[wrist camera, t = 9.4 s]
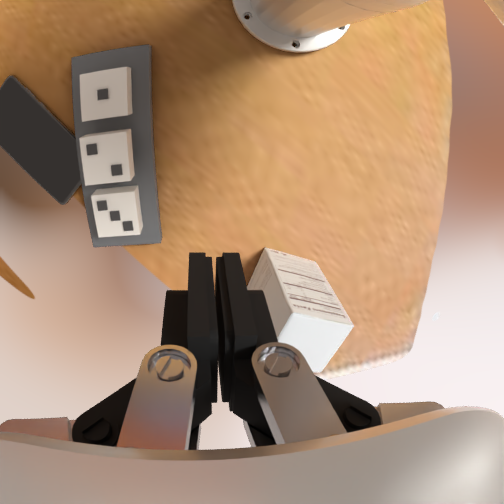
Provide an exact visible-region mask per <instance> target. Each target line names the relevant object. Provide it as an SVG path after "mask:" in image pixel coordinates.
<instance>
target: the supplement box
mask: <svg viewBox="0 0 504 504" xmlns="http://www.w3.org/2000/svg"><path fill="white" fill-rule="evenodd" d="M247 290H263V292H264V295H265V298H266V302H267V305H268V308H269V312H270V315H271V319H272V322H273V325H274V329H275V332H276V336H277V339H278V342H280V343H286V344H289V345H291V346H294V347H295V348H296V349H298V350H299V351H300V352H301V353H302V355H303V356H304V357H305V359H306V361H307V363H308V364H309V366H310V368H311V370H312V372H321V371H322V370H323V369H324V367H325V366H326V365H327V363H328V362H329V360H330V359H331V358H332V356H333V355H334V354H335V352H336V351H337V350H338V348H339V347H340V345H341V344H342V342H343V341H344V340H345V338H346V337H347V335H348V334H349V333H350V331H351V330H352V328H353V327H354V325H353V323H352V321H351V320H350V318H349V316H348V315H347V313H346V311H345V310H344V308H343V306H342V304H341V303H340V301H339V299H338V298H337V296H336V294H335V293H334V291H333V289H332V288H331V286H330V284H329V283H328V281H327V279H326V278H325V276H324V274H323V273H322V271H321V269H320V268H319V266H318V264H317V263H316V262H315V261H312V260H309V259H305V258H302V257H298V256H295V255H291V254H288V253H284V252H281V251H277V250H273V249H270V248H264V250H263V252H262V254H261V257H260V259H259V261H258V263H257V266H256V268H255V270H254V272H253V275H252V277H251V279H250V281H249V284H248V286H247Z"/></svg>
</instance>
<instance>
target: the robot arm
mask: <svg viewBox="0 0 504 504" xmlns="http://www.w3.org/2000/svg"><path fill="white" fill-rule="evenodd" d="M426 1H428V0H232V3H233V8H234V11H235V13H236V15H237V18H238V19H239V21H240V22H241V24H242V25H243V26H244V28H245V29H246V30H247V31H248V32H249V33H250V34H251V35H252V36H254V37H255V38H257V39H258V40H259V41H261V42H262V43H264V44H266V45H269V46H271V47H273V48H276V49H279V50H283V51H288V52H295V53H299V52H311V51H316V50H320V49H323V48H326V47H328V46H330V45H332V44H334V43H335V42H336V41H338V40H339V39H340V38H341V37H342V36H343V35H344V34H345V33H346V32H347V30H348V28H349V26H350V24H352V23H356V22H359V21H362V20H366V19H369V18H373V17H376V16H380V15H384V14H388V13H392V12H396V11H399V10H403V9H408V8H411V7H415V6H418V5H420V4H422V3H424V2H426ZM484 1H485V3H486V4H487V5H488V6H489V8H490V9H491V10H492V11H493V13H494V14H495V15H496V17H497V18H498V19H499V21H500V22H501V23H502V25H503V26H504V0H484ZM244 16H249V19H245V18H244ZM338 28H340V29H338ZM292 43H295V44H296V47H293V46H292ZM218 366H219V375H220V385H221V395H222V401H223V402H229V408H230V411H233V413H234V414H236V415H237V416H239V417H240V418H242V419H243V423H244V428H245V430H246V433H247V436H248V439H249V442H250V444H251V447H250V448H235V449H217V450H198V449H199V440H200V431H201V423H202V422H203V421H204V420H205V419H206V418H207V417H208V416H210V415H211V414H212V405H211V403H216V402H217V380H218V378H217V377H218ZM0 504H504V418H503V417H502V416H501V415H499V414H498V413H497V412H495V411H493V410H490V409H487V408H481V407H467V406H464V407H451V408H444V407H443V406H442V405H440V404H438V403H436V402H414V403H380V404H379V405H378V406H377V407H373V406H372V405H371V404H370V403H368V402H366V401H364V400H362V399H360V398H358V397H356V396H354V395H352V394H350V393H348V392H346V391H344V390H342V389H340V388H338V387H336V386H334V385H332V384H330V383H328V382H326V381H325V380H323V379H321V378H319V377H317V376H315V375H314V373H313V372H312V370H311V368H310V366H309V364H308V363H307V361H306V359H305V357H304V356H303V355H302V353H301V352H300V351H299V350H298V349H296V348H295V347H294V346H291V345H289V344H286V343H280V342H278V339H277V336H276V332H275V329H274V325H273V322H272V319H271V315H270V312H269V308H268V305H267V302H266V298H265V295H264V292H263V290H247V286H246V282H245V277H244V273H243V268H242V264H241V259H240V255H239V253H223V254H222V257H216V283H215V293H214V281H213V268H212V257H205V253H189V276H188V291H187V290H167V292H166V299H165V307H164V317H163V328H162V338H161V346H158V347H156V348H154V349H152V350H150V351H149V352H148V353H147V354H146V355H145V357H144V359H143V360H142V363H141V366H140V369H139V372H138V375H137V378H136V379H134V380H132V381H131V382H129V383H128V384H126V385H125V386H123V387H122V388H120V389H119V390H118V391H116V392H115V393H113V394H112V395H110V396H109V397H107V398H106V399H104V400H103V401H101V402H100V403H98V404H97V405H95V406H94V407H92V408H90V409H89V410H87V411H86V412H84V413H83V414H82V415H80V416H79V417H78V418H77V419H76V420H69V419H68V418H67V417H62V418H61V417H60V418H44V419H43V418H41V419H11V420H7V421H5V422H4V423H2V424H1V425H0Z"/></svg>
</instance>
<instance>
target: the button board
mask: <svg viewBox="0 0 504 504" xmlns="http://www.w3.org/2000/svg"><path fill="white" fill-rule="evenodd" d="M151 48H152V46H150V45H141V46H133V47H126V48H119V49H113V50H107V51H101V52H96V53H91V54H86V55H82V56H77V57H73V58H72V95H73V112H74V125H75V136H76V146H77V154H78V162H79V170H80V177H81V184H82V190H83V196H84V202H85V207H86V213H87V218H88V223H89V228H90V233H91V238H92V242H93V246H94V247H106V246H122V245H138V244H154V243H161V240H162V232H161V223H160V213H159V203H158V193H157V181H156V169H155V154H154V138H153V117H152V78H151ZM121 67H130V68H131V80H132V111H133V113H132V114H130V115H126V116H118V117H110V118H103V119H97V120H90V121H84V122H82V116H81V100H80V75H81V74H86V73H91V72H96V71H102V70H108V69H114V68H121ZM124 129H131V136H132V149H133V161H134V172H135V175H134V177H133V178H132V180H131V181H125V182H115V183H105V184H96V185H87V186H85V180H84V173H83V166H82V158H81V150H80V140H79V138H81V137H83V136H85V135H87V134H94V133H101V132H108V131H116V130H124ZM135 185H138V189H139V198H140V206H141V214H142V222H143V228H142V231H141V234H140V235H128V236H113V237H98V232H97V227H96V222H95V217H94V211H93V206H92V200H91V195H92V194H93V193H94V192H95V190H96V189H104V188H114V187H124V186H135Z"/></svg>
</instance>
